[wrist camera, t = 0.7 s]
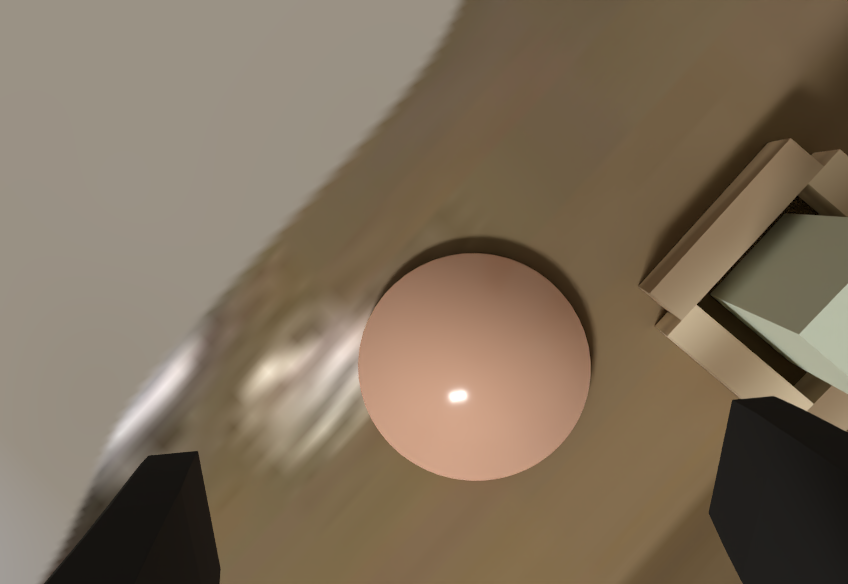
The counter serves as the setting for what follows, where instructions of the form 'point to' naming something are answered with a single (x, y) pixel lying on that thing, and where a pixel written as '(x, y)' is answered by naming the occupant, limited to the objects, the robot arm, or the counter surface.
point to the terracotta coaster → (474, 366)
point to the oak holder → (723, 245)
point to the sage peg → (797, 293)
